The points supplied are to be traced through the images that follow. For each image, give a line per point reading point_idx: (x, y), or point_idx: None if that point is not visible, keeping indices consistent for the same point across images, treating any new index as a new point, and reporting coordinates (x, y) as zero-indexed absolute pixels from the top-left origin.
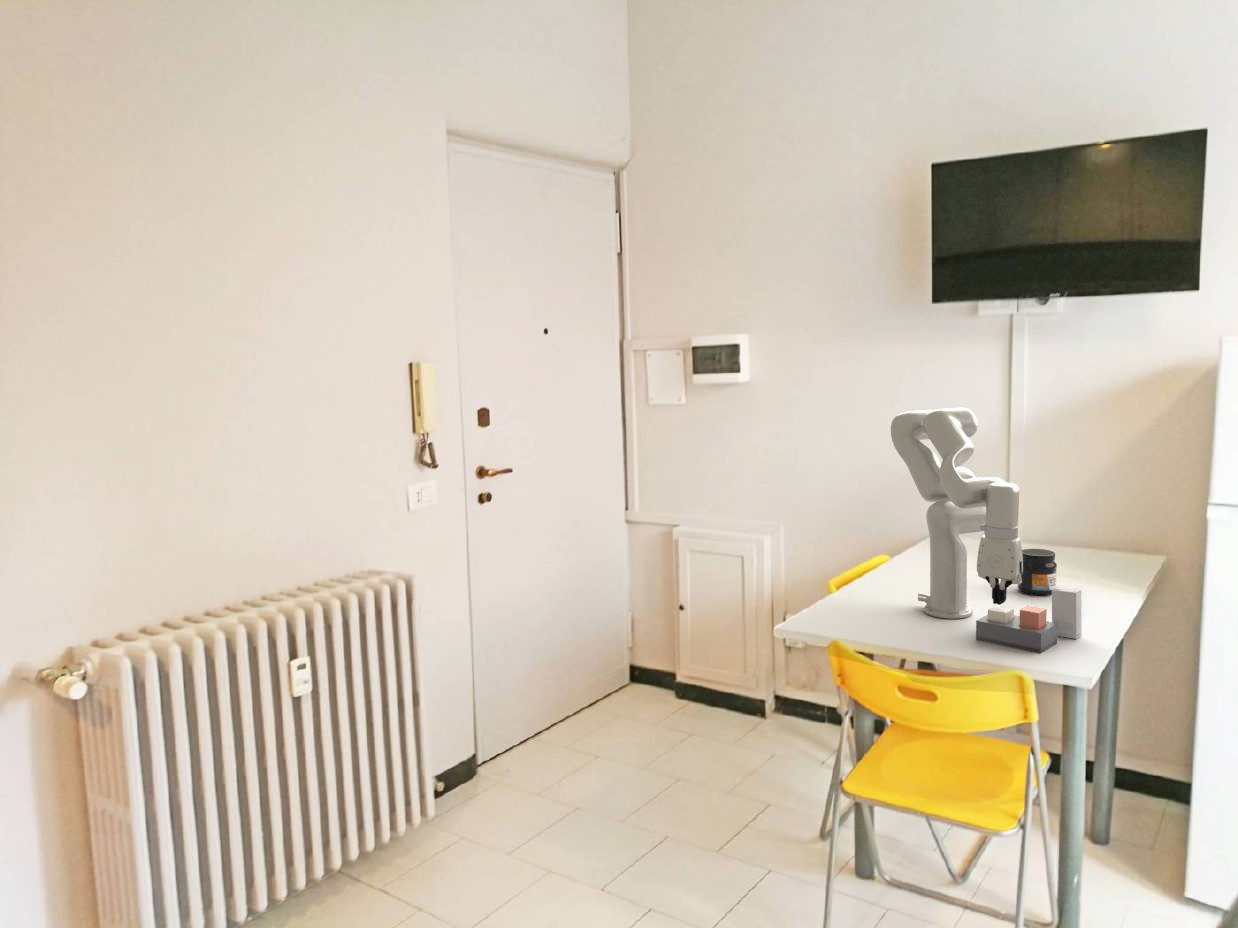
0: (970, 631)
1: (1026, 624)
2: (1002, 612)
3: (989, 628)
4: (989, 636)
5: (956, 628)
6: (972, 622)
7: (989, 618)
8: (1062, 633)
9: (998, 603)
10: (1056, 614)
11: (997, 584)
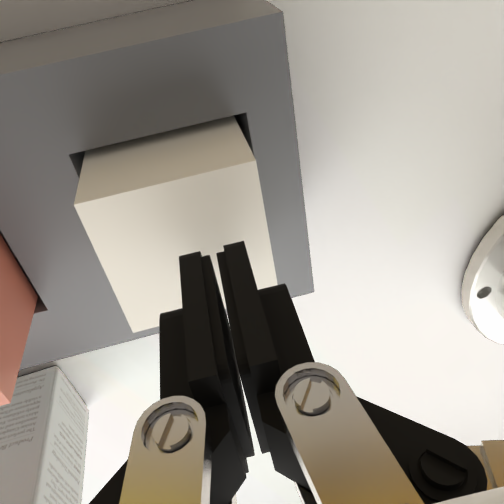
0: (360, 111)
1: None
2: (108, 195)
3: (152, 29)
4: (150, 18)
5: (445, 93)
6: (418, 235)
7: (223, 131)
8: None
9: (186, 256)
10: (14, 469)
11: (281, 452)
